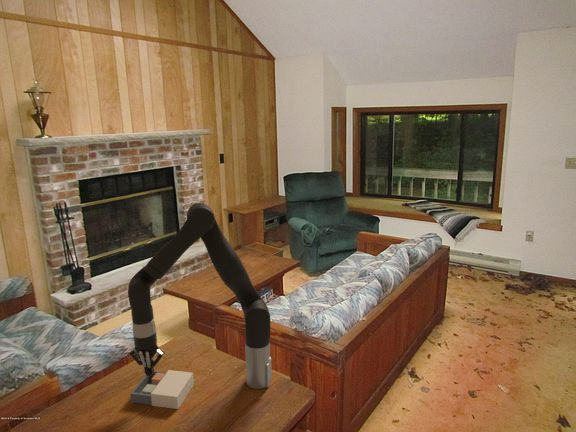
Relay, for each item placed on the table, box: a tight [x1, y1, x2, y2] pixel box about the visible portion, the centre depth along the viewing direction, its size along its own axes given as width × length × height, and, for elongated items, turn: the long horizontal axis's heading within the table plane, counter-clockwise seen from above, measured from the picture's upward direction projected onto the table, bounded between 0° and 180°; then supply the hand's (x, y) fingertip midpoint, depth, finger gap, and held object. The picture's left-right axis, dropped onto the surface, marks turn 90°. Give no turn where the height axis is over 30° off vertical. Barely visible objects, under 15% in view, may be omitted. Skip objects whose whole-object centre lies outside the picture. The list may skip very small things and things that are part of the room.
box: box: [130, 370, 168, 406], centre depth 157 cm, size 8×14×4 cm, turn 169°
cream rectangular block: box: [151, 369, 195, 410], centre depth 155 cm, size 10×14×5 cm
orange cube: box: [152, 373, 165, 386], centre depth 160 cm, size 4×4×4 cm
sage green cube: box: [142, 384, 156, 394], centre depth 153 cm, size 4×4×4 cm
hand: (149, 374), depth 151 cm, fingers closed
